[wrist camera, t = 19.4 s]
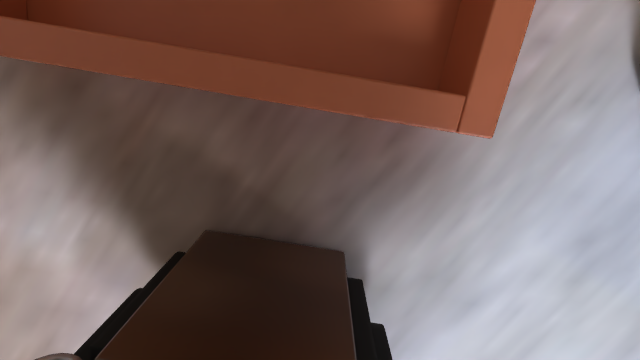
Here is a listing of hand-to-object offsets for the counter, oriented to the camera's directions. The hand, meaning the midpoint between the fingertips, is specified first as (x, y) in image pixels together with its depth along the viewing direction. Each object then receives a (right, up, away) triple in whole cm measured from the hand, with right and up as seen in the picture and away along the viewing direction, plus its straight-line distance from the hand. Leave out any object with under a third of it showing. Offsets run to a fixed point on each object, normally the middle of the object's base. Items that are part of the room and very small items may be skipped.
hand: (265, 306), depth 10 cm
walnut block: (0, 0, 0) cm, 0 cm away
